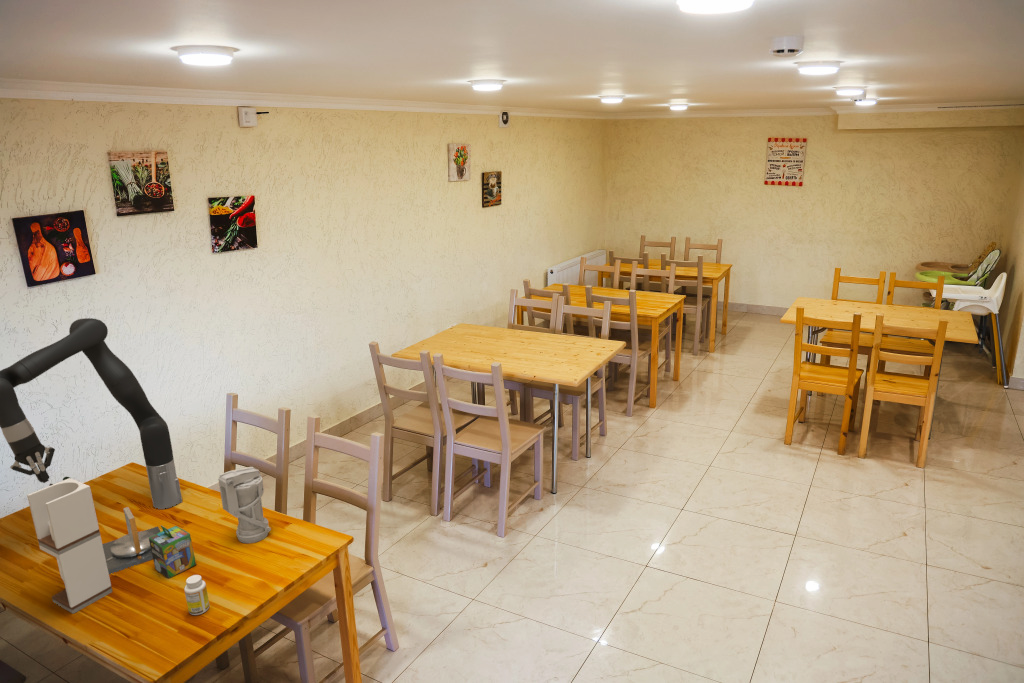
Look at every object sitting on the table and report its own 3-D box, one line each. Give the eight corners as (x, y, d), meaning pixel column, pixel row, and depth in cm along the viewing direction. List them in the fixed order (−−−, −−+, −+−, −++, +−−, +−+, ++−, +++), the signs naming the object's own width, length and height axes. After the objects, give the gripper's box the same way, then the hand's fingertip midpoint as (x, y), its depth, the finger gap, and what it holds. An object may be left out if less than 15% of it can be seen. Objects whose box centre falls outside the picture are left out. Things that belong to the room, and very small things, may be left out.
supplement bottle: (204, 600, 199) (198, 570, 197) (213, 608, 196) (208, 577, 193) (185, 610, 195) (179, 579, 192) (194, 618, 192) (188, 587, 189)
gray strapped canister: (259, 524, 240) (250, 458, 233) (275, 534, 233) (266, 467, 226) (224, 539, 230) (213, 472, 224) (239, 551, 224) (229, 482, 217)
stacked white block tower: (92, 581, 210) (69, 478, 200) (112, 591, 205) (89, 486, 195) (53, 602, 200) (26, 494, 191) (73, 613, 195) (47, 504, 185)
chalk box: (196, 565, 217) (189, 524, 213) (168, 579, 210) (160, 537, 206) (182, 555, 222) (175, 514, 218) (153, 569, 215) (145, 527, 211)
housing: (158, 530, 237) (157, 525, 237) (171, 552, 224) (170, 548, 223) (99, 549, 227) (98, 544, 226) (109, 574, 213) (108, 569, 213)
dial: (108, 544, 226) (100, 508, 222) (151, 530, 233) (144, 495, 230) (116, 564, 215) (108, 526, 211) (161, 549, 223) (154, 512, 219)
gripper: (39, 423, 222) (63, 468, 228) (-7, 444, 213) (19, 490, 219) (46, 426, 217) (71, 472, 223) (0, 447, 208) (26, 495, 214)
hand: (45, 481), depth 221 cm, fingers closed
